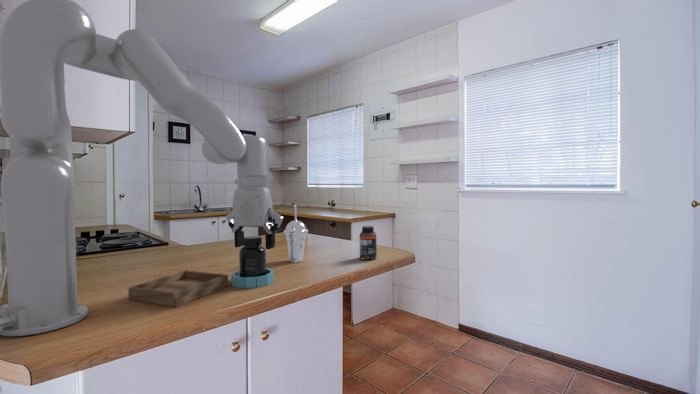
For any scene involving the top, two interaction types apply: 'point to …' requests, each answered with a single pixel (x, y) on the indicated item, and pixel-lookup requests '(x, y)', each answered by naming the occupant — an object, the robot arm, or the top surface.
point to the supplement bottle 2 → (368, 243)
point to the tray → (178, 288)
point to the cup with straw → (296, 238)
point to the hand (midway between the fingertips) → (254, 247)
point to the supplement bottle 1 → (252, 257)
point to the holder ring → (252, 280)
